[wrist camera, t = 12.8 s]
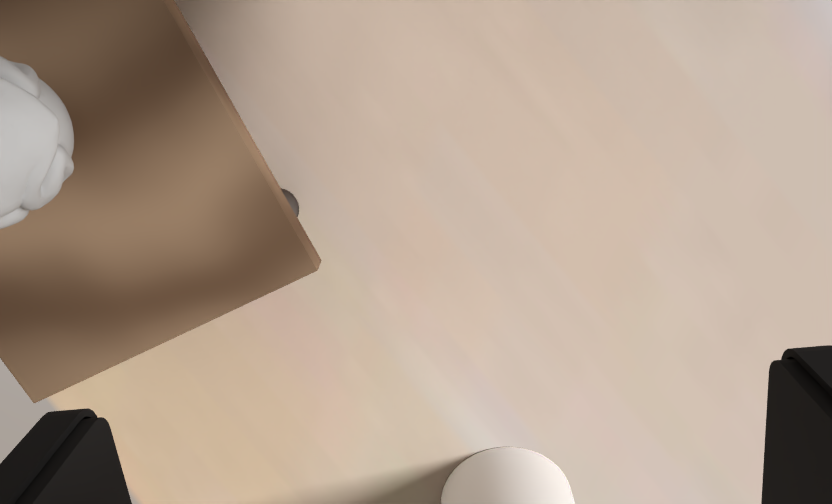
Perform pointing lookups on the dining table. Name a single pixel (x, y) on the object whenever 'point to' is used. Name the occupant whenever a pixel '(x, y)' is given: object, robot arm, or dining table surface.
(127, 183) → the walnut shelf
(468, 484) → the cylindrical container
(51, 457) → the robot arm
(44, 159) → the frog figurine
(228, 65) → the dining table surface
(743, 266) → the dining table surface
